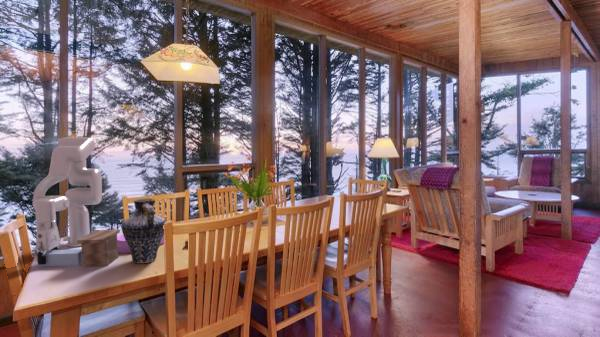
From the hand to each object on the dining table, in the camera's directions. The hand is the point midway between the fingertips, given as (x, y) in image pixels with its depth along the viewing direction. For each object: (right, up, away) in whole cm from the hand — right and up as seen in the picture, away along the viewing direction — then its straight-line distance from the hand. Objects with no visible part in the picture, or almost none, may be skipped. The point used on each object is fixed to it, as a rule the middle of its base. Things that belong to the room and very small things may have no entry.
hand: (49, 260), depth 159 cm
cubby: (+23, -1, +2) cm, 24 cm away
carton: (+60, +1, +31) cm, 68 cm away
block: (+6, -2, 0) cm, 6 cm away
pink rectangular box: (+32, 0, +26) cm, 41 cm away
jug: (+44, -1, +4) cm, 45 cm away
